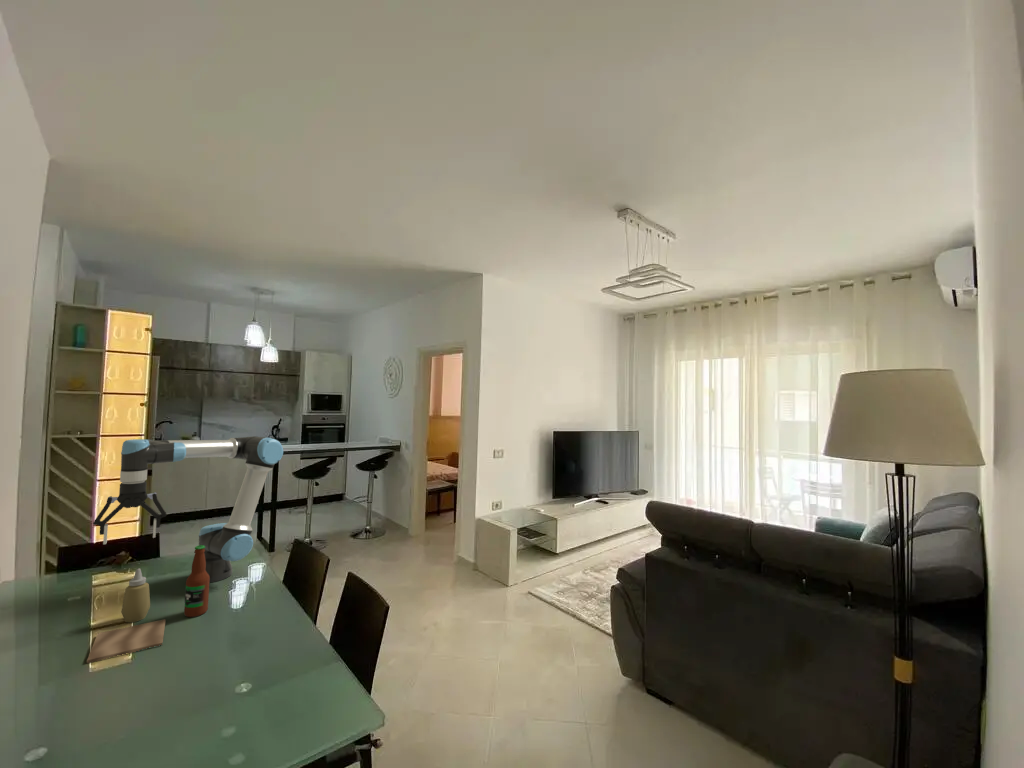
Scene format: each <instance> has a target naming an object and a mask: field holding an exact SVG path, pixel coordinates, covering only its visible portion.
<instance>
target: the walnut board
mask: <svg viewBox="0 0 1024 768" xmlns="http://www.w3.org/2000/svg"><path fill="white" fill-rule="evenodd" d="M165 627H166V619H160V620H156V621H155V620H154V621H150V622H145V623H141V624H136V625H131V626H125V627H121V628H116V629H111V630H106V631H102V632H97V634H96V637H95V639H94V642H93V645H92V647H91V649H90V651H89V654H88V657H87V659H86V664H91V663H95V661H96V662H99V661H103V660H102V659H104V660H107V659H106V658H108V659H110V658H109V657H113V656H117V655H121V656H123V655H122V654H125V655H127V654H126V653H129V654H133V653H132V652H134V653H137V652H136V651H138V652H140V651H139V650H142V649H146V648H149V647H154V646H159V645H162V646H163V644H164V643H163V642H164V634H165ZM162 643H163V644H162ZM159 647H160V646H159ZM146 650H147V649H146ZM142 651H143V650H142ZM117 657H118V656H117ZM113 658H114V657H113Z"/></svg>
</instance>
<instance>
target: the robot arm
mask: <svg viewBox="0 0 1024 768" xmlns="http://www.w3.org/2000/svg"><path fill="white" fill-rule="evenodd" d="M120 454H121V461H120V462H121V463H120V474H119V482H120V484H119V492H118V496H108V497H107V499H106V503H105V504H104V506H103V508H102V509H101V511H100V512H99V514H98V515H97V516H96V517H95V519H94V521H93V523H92V524H93V526H99V535H100V536H102V535H103V541H102V545H107V542H108V527H109V526H108V525H109V523H108V522H109V521H110V520H111V519H112V518H114V517H115V516H116V514H118V513H119V511H121V510H122V509H124V508H125V509H131V508H139V507H142V508H143V509H144V510H146V511H147V512H148V513H149V514H150V515H151V516H153V517H154V518H153V528H152V529H153V530H152V538H153V539H154V538H156V537H157V536H156V535H157V533H156V532H157V528H160V527H161V520H162V518H165V517H167V512H166V510H165V508H164V507H163V505H162V504H161V502H160V500H159V499H158V496H157V495H158V494H157V492H152V493H147V488H148V487H147V484H148V483H147V479H148V470H149V469H148V468H149V467H148V465H152V464H154V465H155V464H164V463H176V462H181V461H183V460H184V459H190V458H219V457H220V458H221V457H222V458H224V457H227V458H228V459H229V460H230V459H239V460H245V463H244V465H245V466H246V472H245V475H244V478H243V479H242V484H241V487H240V489H239V491H238V495H237V497H236V500H235V504H234V507H233V509H232V511H231V515H230V517H229V520H228V522H222V523H220V522H219V523H215V524H209V525H205V526H203V527H201V528H200V530H199V534H198V546H199V545H204V546H205V548H204V549H205V552H204V554H205V560H206V569H205V570H206V572H207V573H208V574H209V577H210V581H209V583H214V582H219V581H222V580H225V579H228V577H230V576H232V575H233V565H232V563H231V562H238V561H241V560H243V559H244V558H245V557H247V556H248V555H249V554H250V552H251V551H252V549H253V546H254V539H253V537H252V532H253V528H252V525H251V524H252V522H253V521H252V520H253V518H254V515H255V513H256V509H257V506H258V503H259V500H260V496H261V494H262V492H263V488H264V486H265V482H266V479H267V477H268V473H269V472H270V471H272V470H273V469H274V467H275V464H278V462H280V461H281V459H282V458H283V455H284V448H283V445H282V443H281V442H280V441H279V440H278V439H274V438H271V437H265V436H257V435H256V436H245V437H230V438H228V439H205V440H204V439H203V440H202V439H200V440H199V439H190V440H188V439H187V440H185V439H181V440H179V439H176V440H172V439H170V440H168V439H167V440H161V439H159V440H154V439H145V438H144V439H142V438H140V439H139V438H136V439H135V438H134V439H126V440H124V441H123V442H122V445H121V451H120ZM148 498H149V499H150V500H152V501H153V503H154V504H155V506H156V508H157V509H158V511H159V513H158V512H157V510H155V509H154V508H153V507H151V505H149V504H148V503H147V502H146V501H147V499H148ZM116 501H117V502H118V503H119V504H118V505H117V506H116V507H115V509H113V510H112V511H111V512H110V513H109V514H108V515H107V516H106V517H105V518H103V516H104V515H105V513H106V512H107V511H108V510H109V508H110V507H111V504H114V503H115V502H116ZM102 518H103V519H102Z"/></svg>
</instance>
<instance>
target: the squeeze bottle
mask: <svg viewBox="0 0 1024 768" xmlns="http://www.w3.org/2000/svg"><path fill="white" fill-rule="evenodd" d="M150 594H151V593H150V583H148V582H147V577H146V576H143V573H142V570H141V568H137V569H135V573H134V576H133V577H132V578H131V579H130V580H129V583H128V586H126V588H125V590H124V595H123V601H122V606H121V610H120V612H121V615H122V618H123V621H124V622H125V623H135V622H139V621H141V620H143V619H145V618H146V617H147V614H148V612H149V610H150V608H151V598H150V596H151V595H150Z"/></svg>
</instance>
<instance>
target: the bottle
mask: <svg viewBox="0 0 1024 768" xmlns="http://www.w3.org/2000/svg"><path fill="white" fill-rule="evenodd" d="M204 548H205V546H204V545H199V544H198V545H197V546H195V547H194V556H193V559H192V563H191V564H192V565H191V572H190V574H189V575H188V577H187V578H186V581H185V592H184V593H185V594H184V595H185V596H184V609H183V610H184V612H183V613H184V616H185V617H187V618H195V617H196V618H197V617H200V616H202V615H204V614H205V613H207V611H208V609H209V598H210V597H209V593H210V582H209V581H210V577H209V574H208V573H207V572H206V570H205V569H206V560H205V554H204V552H205V549H204Z"/></svg>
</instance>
